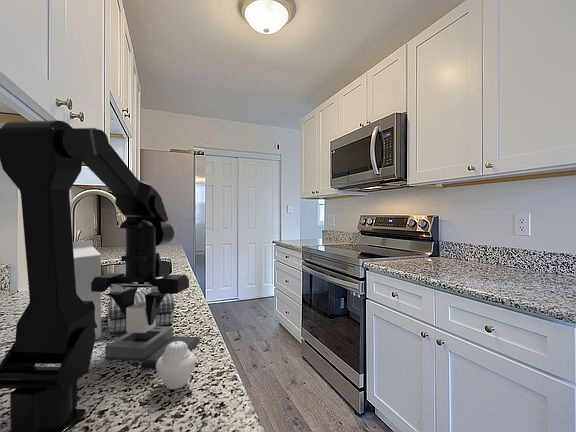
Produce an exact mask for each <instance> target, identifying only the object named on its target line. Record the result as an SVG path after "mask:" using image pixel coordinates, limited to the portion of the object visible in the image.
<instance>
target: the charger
mask: <svg viewBox="0 0 576 432" xmlns="http://www.w3.org/2000/svg"><path fill="white" fill-rule="evenodd" d="M155 326H156V317H155V320H154V323H153V324H152V325H149V324H148V320H147V311H146V302H137V303H135V304H133V305H131V306H129V307H127V308H126V331H125V332H126V333H128V332H132V333H146V332H147V331H149V330H150V329H152V328H153V327H155Z"/></svg>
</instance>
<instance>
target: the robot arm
mask: <svg viewBox="0 0 576 432" xmlns="http://www.w3.org/2000/svg"><path fill="white" fill-rule="evenodd" d="M83 163H84V165H85V166H86V167H88V168H89V170H90V171H91V172H92V173H93V174H94V175H95V176H96V177H97V178H98V179H99V180H100V181H101V182H102V184H103V185H105V187H107V189H109V190H110V191H111V192H112V193H113V196H115V203H114V205H115V206H116V208H118V210H119V211H120V213H121V215H122V216H124V217H125V218H126V219H125V220H124V221H123V222H122V223H121V224H120V225H119V228H120V229H125V234H124V235H125V255H121V256H120V257H121V258H120V260H121V261H120V262H125V273H118V272H117V273H116V272H115V273H106V274H101V276H98V277H95V278H94V279H93V281H92V282H91V292H101V293H104V292H106V291H107V290H108V289H109V288H110V292H108V293H107V297H110V296H111V297H112V298H113V300H114V301H115V302H116V304H117V305H118V306H119V308H120V310H121V311H122V313H123V315H124V316H125V318H126V308H127V307H129V306H131V305H133V304H134V297H135V294H136V292H138V288H145V289H146V288H149V289H150V288H151V289H150V290H151V293H149V294H146V295H145V301H146V311H147V320H148V324H149V325H152V324H153V323H154V320H155V317H156V314H157V312H158V309H159V306H160V304H161V302H162V300H163V298H164V296H165V295H166V294H172V295H175V294H177V295H178V294H179V293H181V292H184V291H185V290H187V289H188V288H190V279H189V277H188V276H187V275H186V274H170V272H171V271H170V269H171V265H172V264H171V263H169V262H167V261H165V260H161V255H160V252H157V247H160V246H161V247H162V246H165V245H168V244H170V243H171V242H172V241H173V239H174V237H175V230H174V227H173V226H172V225H171V224H170V223H168V222H169V217H168V214H167V211H166V209H165V205H164V202H163V199H162V197H161V196H160V193H159V192H158V191H157V190H156V189H155V188H154V187H153V186H151V184H148V183H146V182H144V181H141V180H139V179H138V178H137V176H135V174H134V173H133V172H132V170H131V169H130V168H129V167H128V166H127V164H126V163H125V162H124V160H123V159H122V158H121V157H120V155H119V153H118V152H117V151H116V150H115V149H114V148H113V146H112V145H111V144H110V143H109V137H108V136H107V133H106V132H105V131H103V130H102V129H99V128H97V127H80V128H79V127H78V128H77V127H76V128H73V127H72V126H71V125H70V124H69V123H68V122H66V121H63V120H16V121H15V120H14V121H13V120H12V121H9V122H6V123H4V125H2V126H1V127H0V164H1V167H2V170H3V171H4V173H5V174H6V175H7V177H9V179H10V180H11V181H12V183H13V184H14V185H15V186H16V187H17V189H18V191H19V193H20V201H21V212H22V213H21V214H22V225H23V234H24V235H23V236H24V238H23V239H24V247H25V250H24V251H25V259H26V272H27V281H28V282H27V283H28V295H29V296H28V297H29V300H28V301H29V302H28V304H27V306H26V307H25V309H24V311H23V312H22V314H21V316H20V317H19V319H18V321H17V322H16V327H15V341H14V343H13V344H12V345H11V347H10V348H9V350H8V351H7V353H6V355H5V356H4V358H3V359H2V360H1V362H0V390H3V389H7V390H9V389H11V390H12V389H13V390H12V391H11V392H10V393H9V395H10V396H9V397H10V398H9V401H10V402H9V404H10V405H9V406H10V409H9V410H10V411H9V413H10V415H9V416H10V419H9V421H10V430H9V431H8V432H62V431H63V430H64V429H66V428H67V427H69V426H70V425H72V424H73V423H74V424H75V423H77V422H78V421H79V420H80V419H81V418H83V417H84V416H85V415H86V414H87V410H86V409H85V408H77V407H78V380H79V379H81V378H82V377H84V376H85V375H86V374H87V373H89V370H90V365H91V362H92V361H91V360H92V356H93V351H94V348H95V347H94V346H95V342H96V339H95V329H94V328H97V324H96V322H95V305H94V303H93V301H82V300H81V299H80V297H79V296H78V295H77V293H76V282H75V268H74V254H73V242H74V241H73V227H72V226H73V225H72V213H71V211H72V210H71V201H70V198H71V197H70V192H71V191H70V190H71V188H72V187H73V185H74V184H75V182H76V180H77V179H78V177H79V175H80V174H81V172H82V169H83V168H82V167H83ZM160 277H161V278H160ZM36 364H37V365H38V364H39V365H42V366H36ZM43 364H45V365H46V366H43ZM48 365H60V366H48ZM84 414H85V415H84ZM83 415H84V416H83ZM82 416H83V417H82ZM79 418H80V419H79ZM78 419H79V420H78ZM77 420H78V421H77ZM76 421H77V422H76ZM74 424H73V425H74ZM73 425H72V426H73ZM69 428H70V427H69Z"/></svg>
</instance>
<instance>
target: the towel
mask: <svg viewBox="0 0 576 432" xmlns="http://www.w3.org/2000/svg"><path fill="white" fill-rule="evenodd" d="M149 293H151V289H145V290H139V291H138V290H137V291H136V294H135V297H134V304H135V303H137V302H146V301H145V295H146V294H149ZM174 299H175V298H174V297H173V294H166V295H165V296H164V298H163V300H162V302H161V304H160V306H159V309H158V312H157V314H156V326H160V327H163V326H164V325H169V324H170V325H171V324H173V323H174V322H175V321H174V319H175V318H174V317H175V313H174V311H175V302H174V301H175V300H174ZM107 326H108V327H107V328H108V332H109V333H119V332H121V333H122V332H126V318H125V316H124V315H123V313H122V311H121V310H120V308H119V306H118V305H117V304H116V302H115V301H114V300H113V298H112V297H111V296H109V303H108V306H107Z"/></svg>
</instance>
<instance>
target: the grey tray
mask: <svg viewBox="0 0 576 432" xmlns="http://www.w3.org/2000/svg"><path fill="white" fill-rule="evenodd" d="M173 330H174V327H173V326H155V327H153V328H152V329H150V330H149V331H147V332H146V333H132V332H126V333H125V334H124V335H121V336H120V337H118V338H116V339H115V340H113V341H112V342H110V343H108V344H107V345H105V346H104V355H105V356H104V359H106V360H119V361H120V360H122V361H140V362H142V361H143V360H144V359H146V358H147V357H148V356H149V355H151V354H152V353H153V352H154V351H156V350H157V349H158V348H159V347H161V346H162V345H163V344H164V343H166V342H167V341H168V340H169V339H171V338H172V337H173V336H174V332H173Z"/></svg>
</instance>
